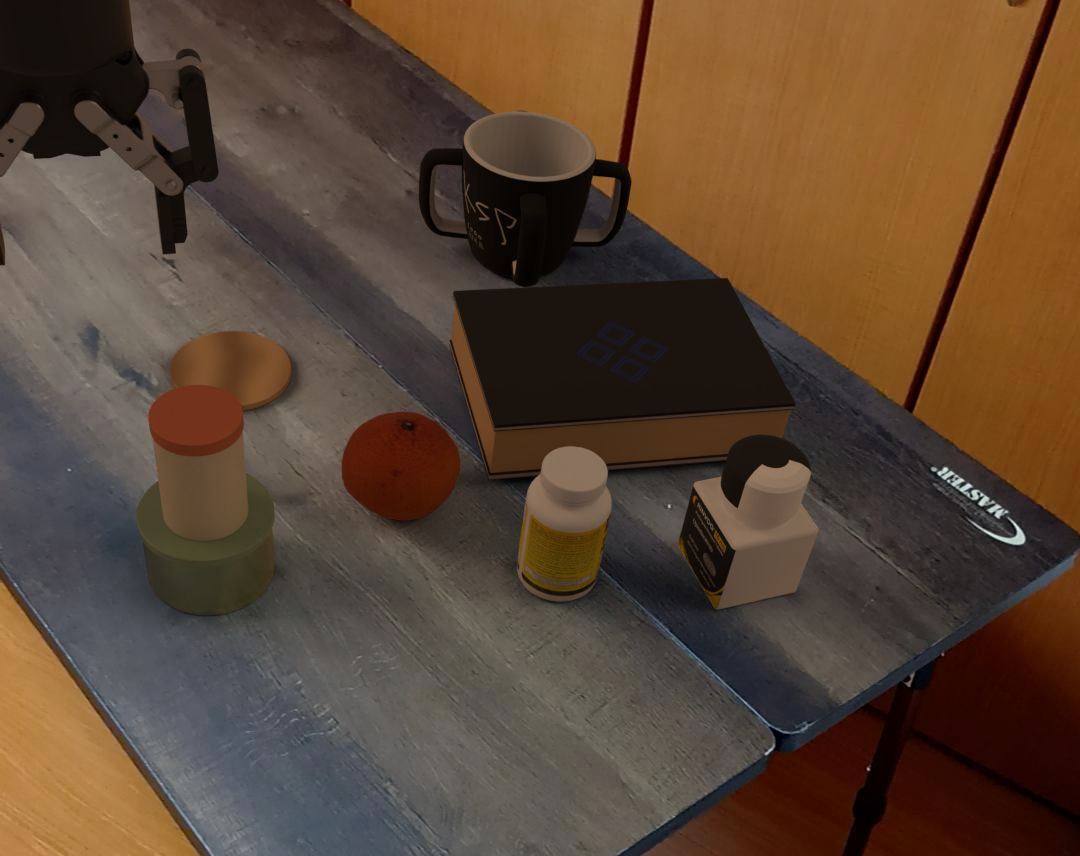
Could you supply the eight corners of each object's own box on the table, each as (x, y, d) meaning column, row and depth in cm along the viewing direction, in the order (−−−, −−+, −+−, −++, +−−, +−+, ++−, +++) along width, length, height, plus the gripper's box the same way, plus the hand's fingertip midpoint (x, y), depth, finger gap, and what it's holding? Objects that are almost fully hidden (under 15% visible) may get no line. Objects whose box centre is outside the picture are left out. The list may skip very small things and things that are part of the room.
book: (448, 351, 117) (453, 290, 112) (712, 336, 123) (727, 277, 118) (487, 487, 106) (494, 425, 101) (776, 463, 111) (796, 403, 107)
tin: (150, 626, 92) (141, 569, 88) (140, 531, 98) (131, 472, 94) (285, 608, 95) (283, 551, 90) (267, 516, 101) (264, 458, 97)
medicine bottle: (675, 545, 103) (705, 431, 95) (755, 528, 106) (792, 415, 97) (714, 612, 99) (750, 499, 90) (797, 593, 101) (839, 481, 93)
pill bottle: (609, 595, 99) (633, 490, 91) (533, 613, 97) (551, 507, 89) (578, 537, 103) (598, 431, 95) (504, 553, 101) (518, 446, 93)
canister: (165, 547, 90) (152, 450, 83) (158, 486, 93) (144, 388, 87) (255, 536, 91) (248, 440, 85) (244, 477, 95) (237, 380, 89)
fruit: (474, 481, 106) (481, 406, 100) (426, 553, 100) (431, 477, 94) (375, 445, 108) (377, 369, 102) (322, 514, 102) (321, 436, 96)
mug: (400, 239, 128) (405, 126, 119) (524, 191, 136) (536, 83, 128) (509, 325, 121) (522, 212, 112) (633, 270, 129) (654, 160, 120)
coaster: (176, 417, 107) (175, 412, 107) (165, 341, 114) (164, 335, 113) (299, 405, 110) (299, 400, 109) (282, 331, 116) (282, 326, 116)
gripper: (191, -96, 62) (214, 204, 74) (-140, -97, 58) (-61, 219, 70) (208, -26, 57) (230, 284, 69) (-152, -22, 53) (-64, 305, 65)
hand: (83, 251), depth 69 cm, fingers open, 8 cm apart
